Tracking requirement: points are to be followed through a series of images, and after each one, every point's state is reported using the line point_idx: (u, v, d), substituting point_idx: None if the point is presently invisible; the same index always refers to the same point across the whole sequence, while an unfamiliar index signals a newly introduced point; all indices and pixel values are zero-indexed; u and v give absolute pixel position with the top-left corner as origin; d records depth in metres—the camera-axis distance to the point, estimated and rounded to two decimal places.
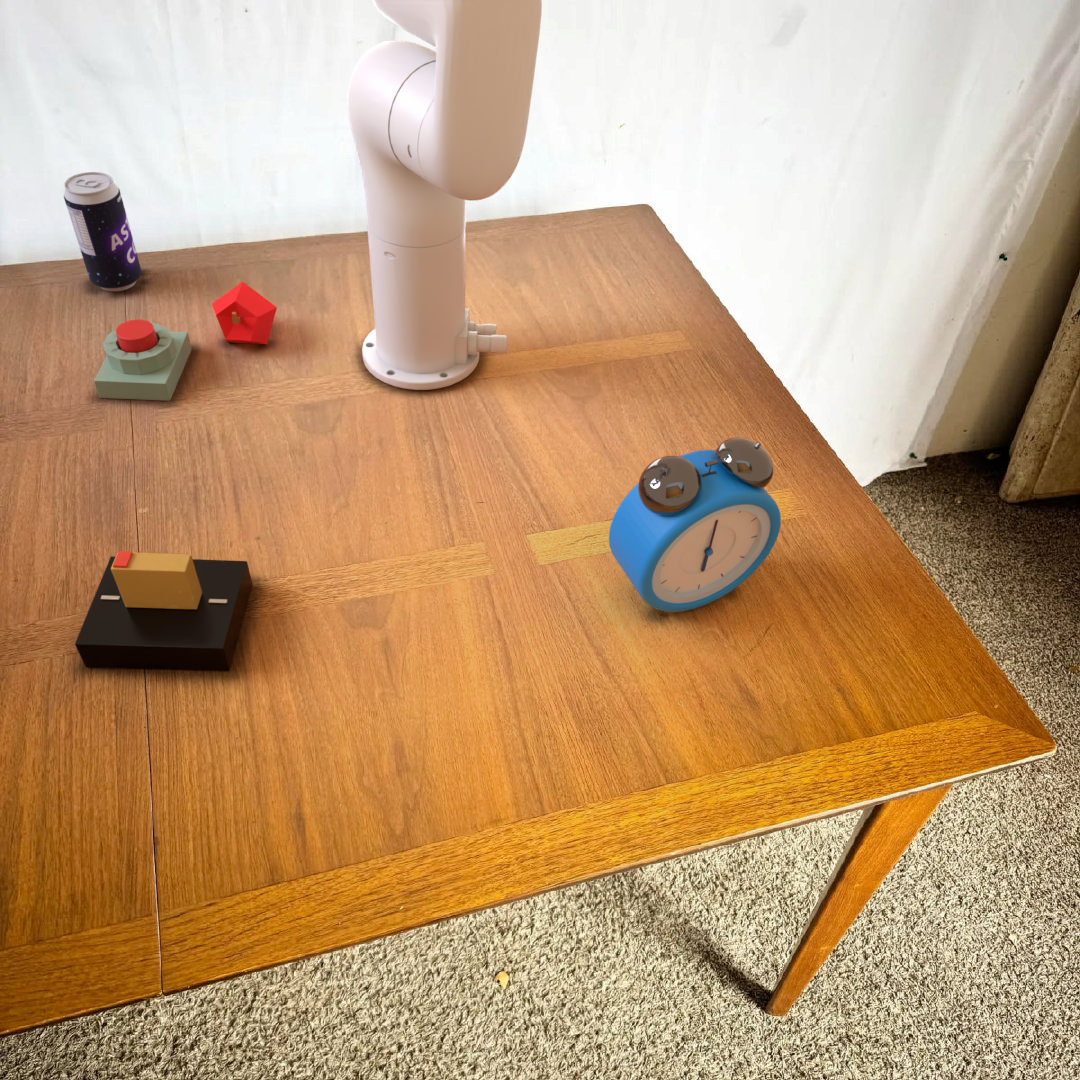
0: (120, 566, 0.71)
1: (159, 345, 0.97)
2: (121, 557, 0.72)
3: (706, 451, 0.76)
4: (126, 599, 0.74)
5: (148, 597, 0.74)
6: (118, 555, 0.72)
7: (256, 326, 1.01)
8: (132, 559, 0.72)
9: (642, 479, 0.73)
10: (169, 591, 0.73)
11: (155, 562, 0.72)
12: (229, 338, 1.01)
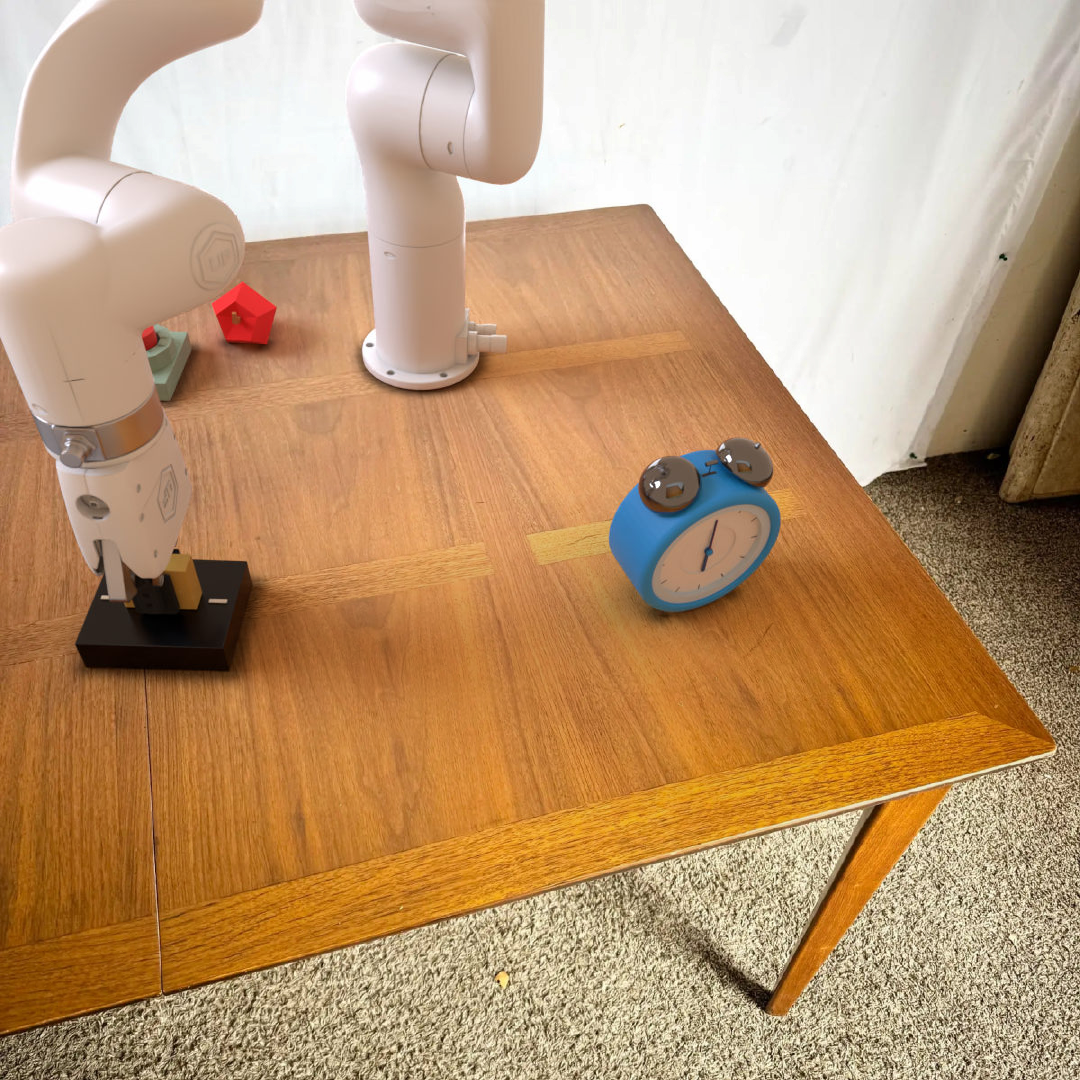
0: None
1: (159, 345, 0.97)
2: None
3: (706, 451, 0.76)
4: None
5: None
6: None
7: (256, 326, 1.01)
8: None
9: (642, 479, 0.73)
10: None
11: None
12: (229, 338, 1.01)
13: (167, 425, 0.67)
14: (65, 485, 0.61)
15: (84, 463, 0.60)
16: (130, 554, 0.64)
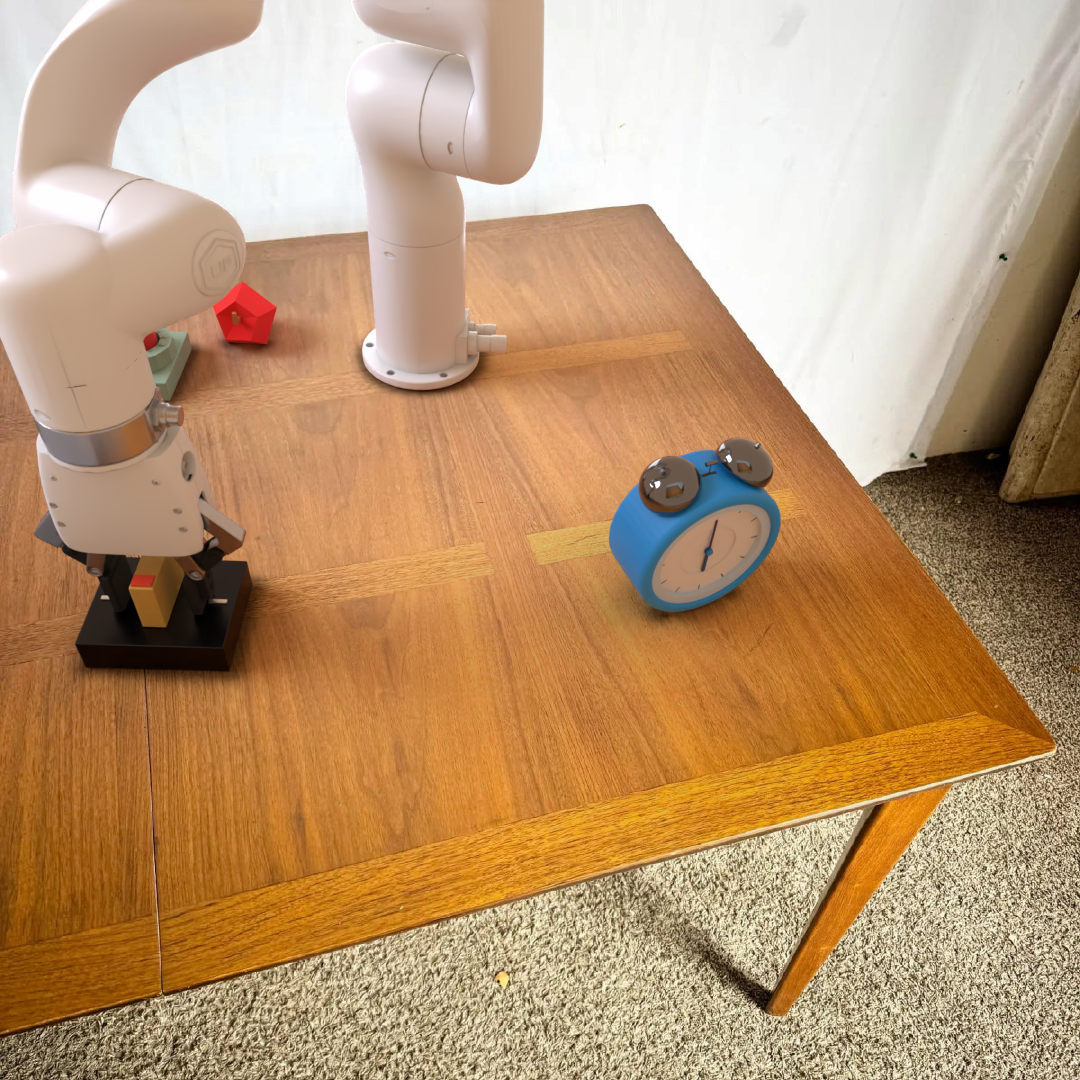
0: (152, 580, 0.71)
1: (159, 345, 0.97)
2: (141, 580, 0.70)
3: (706, 451, 0.76)
4: (164, 615, 0.73)
5: (170, 595, 0.74)
6: (137, 583, 0.70)
7: (256, 326, 1.01)
8: (144, 574, 0.71)
9: (642, 479, 0.73)
10: (173, 572, 0.75)
11: (153, 557, 0.72)
12: (229, 338, 1.01)
13: None
14: (171, 464, 0.63)
15: (163, 434, 0.63)
16: (209, 494, 0.69)
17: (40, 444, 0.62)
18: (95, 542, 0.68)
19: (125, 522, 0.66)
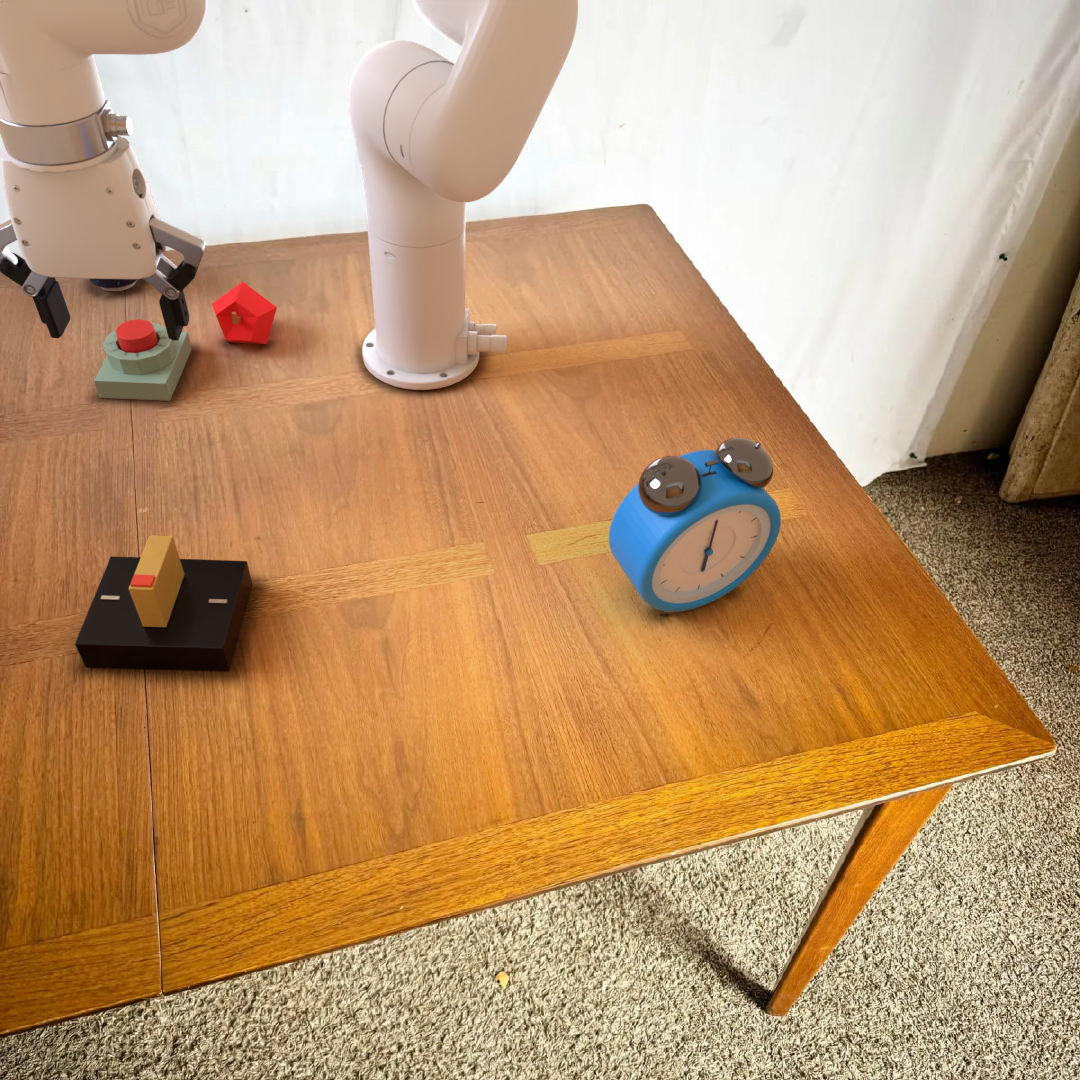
0: (152, 580, 0.71)
1: (159, 345, 0.97)
2: (141, 580, 0.70)
3: (706, 451, 0.76)
4: (164, 615, 0.73)
5: (170, 595, 0.74)
6: (137, 583, 0.70)
7: (256, 326, 1.01)
8: (144, 574, 0.71)
9: (642, 479, 0.73)
10: (173, 572, 0.75)
11: (153, 557, 0.72)
12: (229, 338, 1.01)
13: None
14: (122, 174, 0.71)
15: (114, 146, 0.71)
16: None
17: (3, 155, 0.70)
18: (57, 263, 0.75)
19: (83, 237, 0.73)
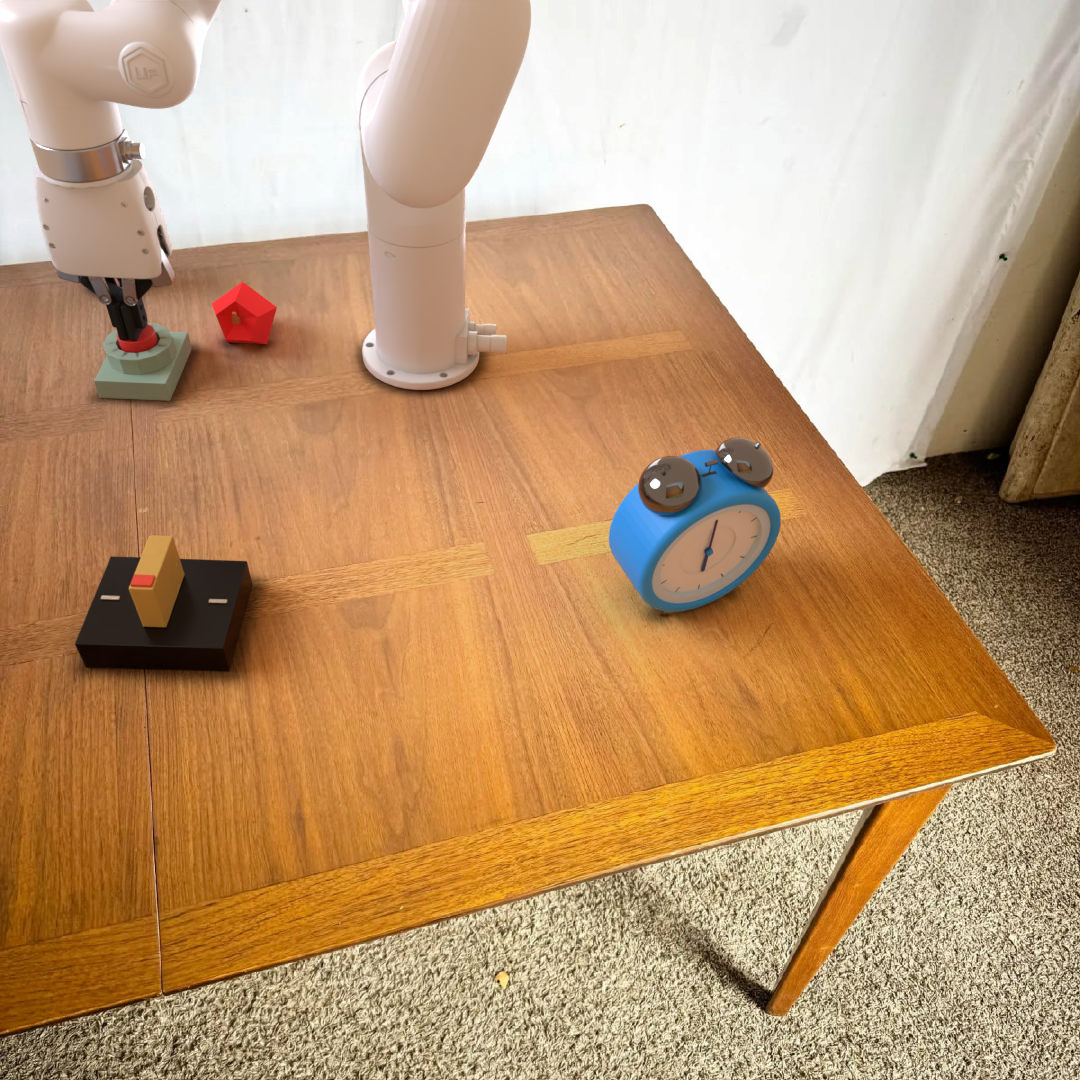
0: (152, 580, 0.71)
1: (159, 345, 0.97)
2: (141, 580, 0.70)
3: (706, 451, 0.76)
4: (164, 615, 0.73)
5: (170, 595, 0.74)
6: (137, 583, 0.70)
7: (256, 326, 1.01)
8: (144, 574, 0.71)
9: (642, 479, 0.73)
10: (173, 572, 0.75)
11: (153, 557, 0.72)
12: (229, 338, 1.01)
13: None
14: (135, 191, 0.84)
15: (129, 167, 0.84)
16: (166, 232, 0.90)
17: (36, 172, 0.83)
18: (78, 263, 0.88)
19: (101, 242, 0.87)
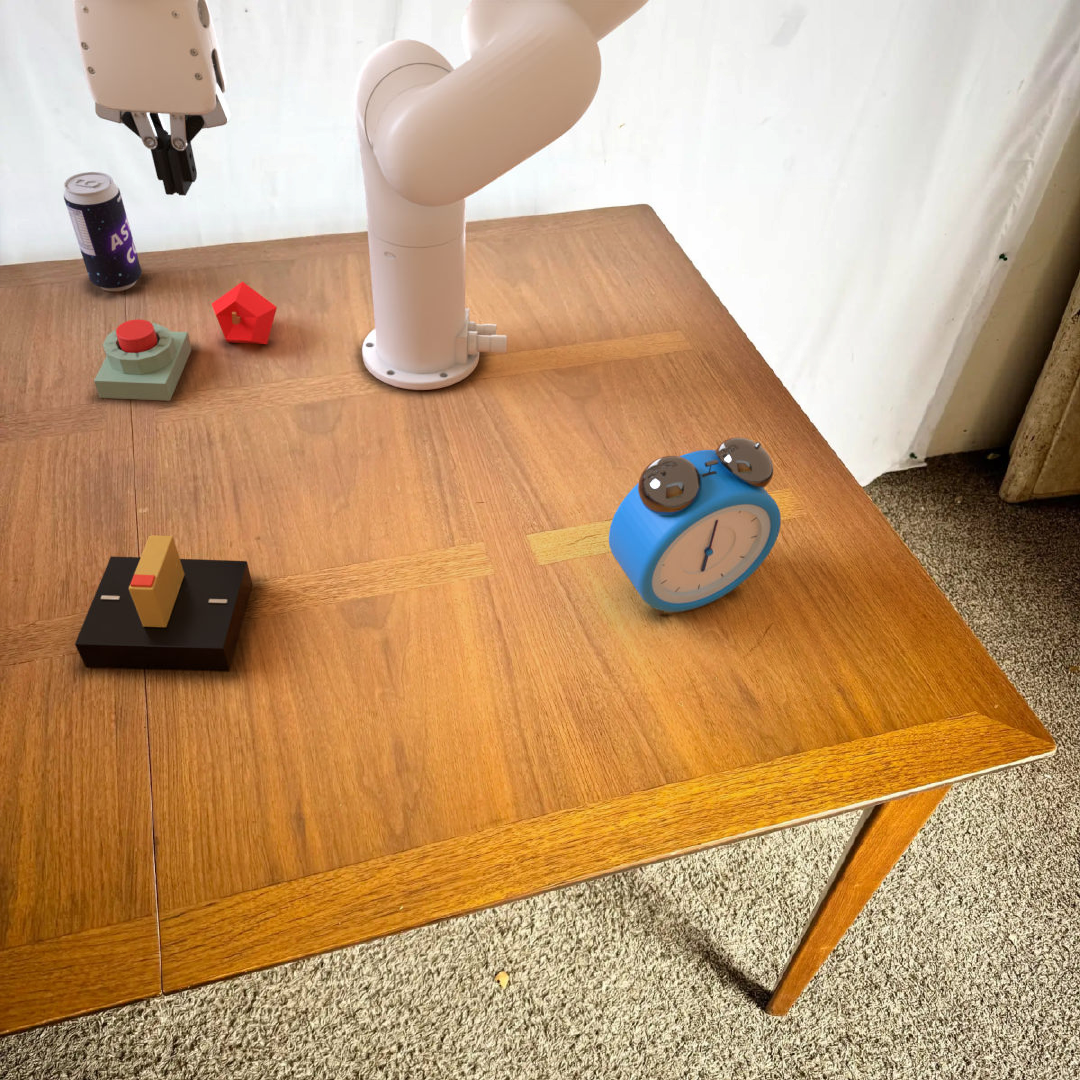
0: (152, 580, 0.71)
1: (159, 345, 0.97)
2: (141, 580, 0.70)
3: (706, 451, 0.76)
4: (164, 615, 0.73)
5: (170, 595, 0.74)
6: (137, 583, 0.70)
7: (256, 326, 1.01)
8: (144, 574, 0.71)
9: (642, 479, 0.73)
10: (173, 572, 0.75)
11: (153, 557, 0.72)
12: (229, 338, 1.01)
13: None
14: None
15: None
16: (220, 60, 0.78)
17: None
18: (121, 94, 0.76)
19: (147, 64, 0.75)
